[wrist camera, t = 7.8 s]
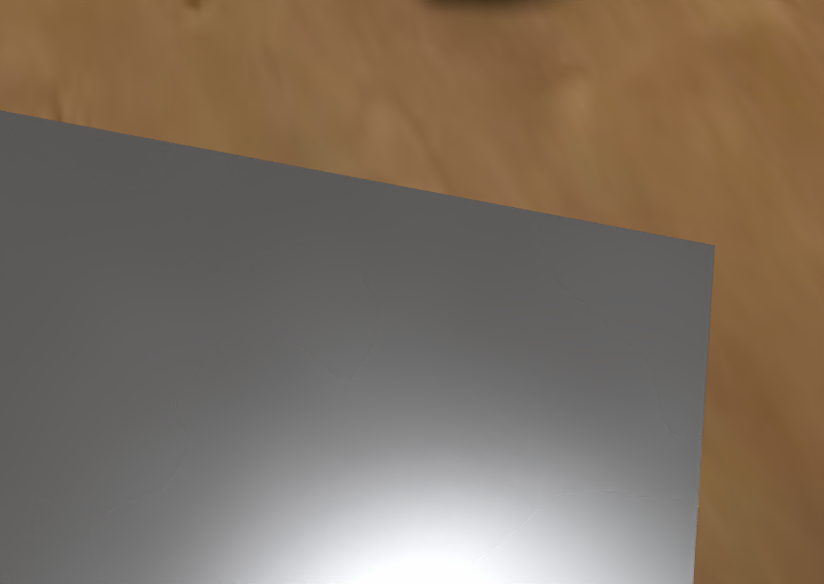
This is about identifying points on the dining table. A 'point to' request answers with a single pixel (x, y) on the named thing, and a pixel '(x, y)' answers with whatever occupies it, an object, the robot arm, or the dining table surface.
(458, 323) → the block
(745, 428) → the dining table surface
